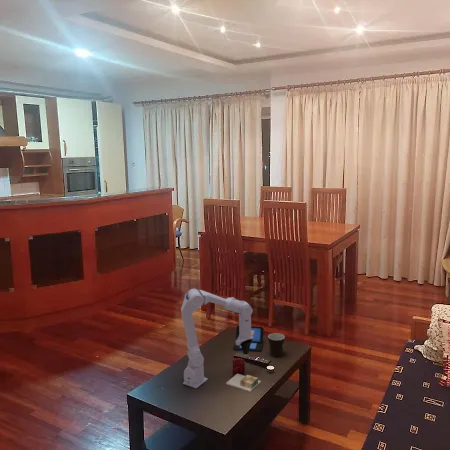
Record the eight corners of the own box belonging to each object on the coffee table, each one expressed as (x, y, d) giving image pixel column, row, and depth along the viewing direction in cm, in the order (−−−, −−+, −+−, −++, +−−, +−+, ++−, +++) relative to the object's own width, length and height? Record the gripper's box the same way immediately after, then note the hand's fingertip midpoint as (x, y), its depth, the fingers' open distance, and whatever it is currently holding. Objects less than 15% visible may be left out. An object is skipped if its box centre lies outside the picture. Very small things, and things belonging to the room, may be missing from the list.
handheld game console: (232, 351, 232) (232, 334, 230) (236, 340, 245) (236, 325, 243) (261, 352, 229) (261, 336, 227) (264, 341, 242) (263, 326, 240)
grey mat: (250, 392, 191) (250, 390, 191) (226, 384, 198) (225, 382, 198) (261, 382, 199) (260, 380, 199) (237, 374, 206) (237, 373, 206)
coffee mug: (279, 359, 220) (279, 341, 218) (265, 355, 225) (265, 337, 223) (290, 351, 229) (290, 333, 227) (276, 347, 234) (276, 330, 232)
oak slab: (240, 385, 196) (251, 388, 192) (240, 380, 195) (251, 383, 192) (247, 379, 200) (258, 382, 197) (247, 374, 200) (258, 378, 197)
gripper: (244, 334, 196) (245, 361, 198) (259, 323, 208) (260, 349, 210) (231, 331, 200) (232, 358, 202) (247, 320, 212) (248, 346, 214)
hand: (245, 353), depth 206 cm, fingers closed
